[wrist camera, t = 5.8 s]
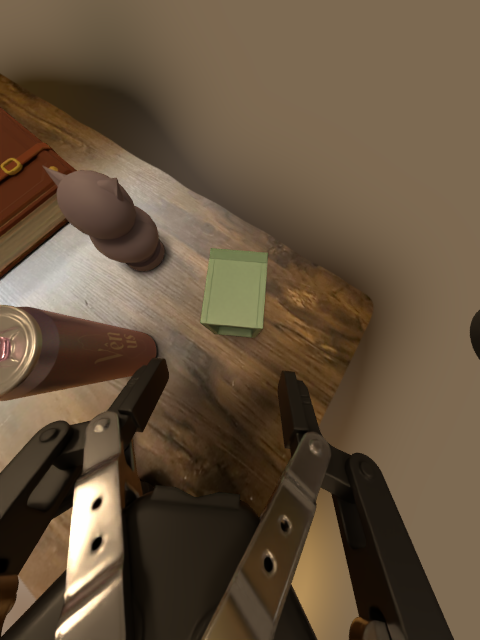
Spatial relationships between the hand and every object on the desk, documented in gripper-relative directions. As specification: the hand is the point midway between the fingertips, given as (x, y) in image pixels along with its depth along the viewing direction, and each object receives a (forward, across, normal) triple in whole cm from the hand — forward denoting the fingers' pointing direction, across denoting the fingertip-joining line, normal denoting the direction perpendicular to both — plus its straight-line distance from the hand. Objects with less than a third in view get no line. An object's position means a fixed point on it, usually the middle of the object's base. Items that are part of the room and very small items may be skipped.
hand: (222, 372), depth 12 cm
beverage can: (+9, +14, +9) cm, 19 cm away
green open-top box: (+15, 0, +3) cm, 15 cm away
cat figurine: (+20, +16, -2) cm, 26 cm away
